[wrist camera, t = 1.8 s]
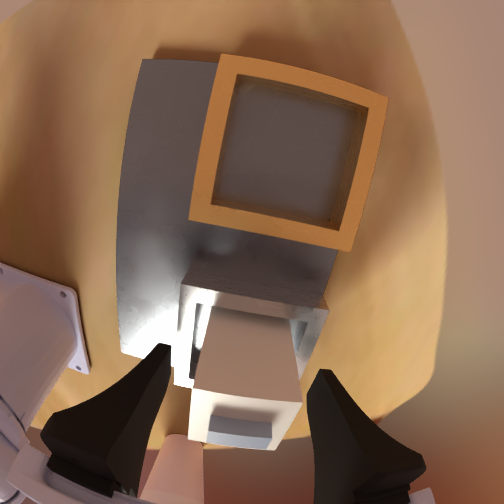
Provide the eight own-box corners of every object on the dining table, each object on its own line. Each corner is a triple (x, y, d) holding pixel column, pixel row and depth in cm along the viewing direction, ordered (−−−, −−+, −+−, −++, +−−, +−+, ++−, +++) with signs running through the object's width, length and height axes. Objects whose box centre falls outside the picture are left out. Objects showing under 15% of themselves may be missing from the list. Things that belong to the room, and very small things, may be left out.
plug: (204, 356, 16) (185, 453, 9) (213, 301, 14) (188, 405, 8) (270, 366, 16) (275, 464, 10) (288, 314, 15) (305, 419, 8)
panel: (126, 343, 17) (113, 367, 14) (149, 64, 11) (130, 50, 8) (285, 374, 18) (289, 401, 15) (366, 104, 12) (388, 97, 9)
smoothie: (159, 451, 23) (135, 558, 10) (145, 421, 20) (108, 550, 7) (218, 459, 23) (208, 572, 10) (214, 431, 20) (199, 573, 7)
